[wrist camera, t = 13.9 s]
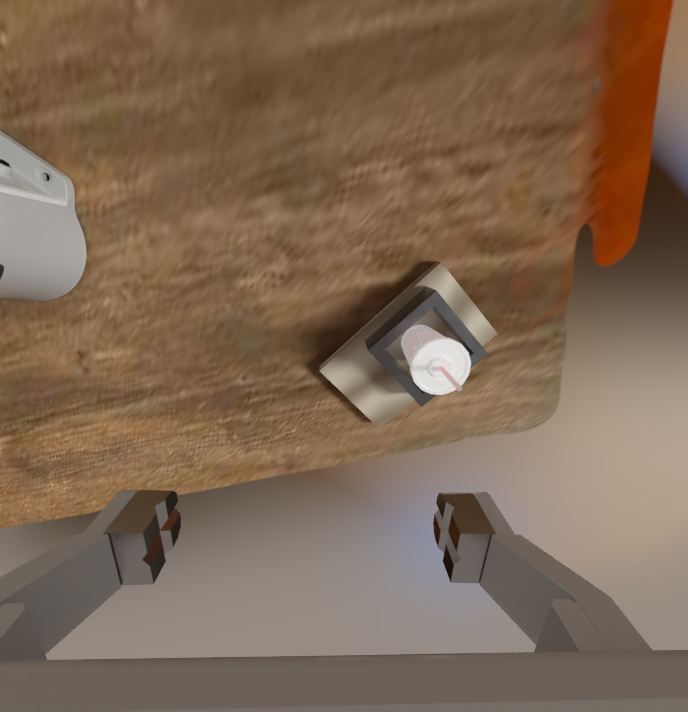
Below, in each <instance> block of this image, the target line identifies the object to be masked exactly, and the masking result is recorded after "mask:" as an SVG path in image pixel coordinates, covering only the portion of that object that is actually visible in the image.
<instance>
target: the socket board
mask: <svg viewBox="0 0 688 712" xmlns="http://www.w3.org/2000/svg"><path fill="white" fill-rule="evenodd" d="M426 286H427V287H430V288H432V289H434V290H436V291H437V292H438V293H439V294H440V295H441V297H442V298H443V299H444V300H445V301H446V303H447V304H448V305H449V306H450V308H451V309H452V310H453V311H454V312H455V314H456V315H457V316H458V317H459V319H460V320H461V321H462V322H463V323H464V325H465V326H466V327H467V328H468V330H469V331H470V332H471V333H472V335H473V336H474V337H475V338H476V339H477V341H478V342H479V343H480V344H481V346H483V345H484V344H486V343H487V342H488V341H489V340H491V339H492V338H493V337H494V336H496V335H497V332H496V331H495V330H494V329H493V327H492V326H491V325H490V324H489V322H488V321H487V320H486V318H485V317H484V316H483V315H482V313H481V312H480V311H479V310H478V308H477V307H476V306H475V305H474V303H473V302H472V301H471V299H470V298H469V297H468V296H467V294H466V293H465V292H464V291H463V289H462V288H461V287H460V285H459V284H458V283H457V282H456V280H455V279H454V278H453V277H452V275H451V274H450V273H449V271H448V270H447V269H446V268H445V266H444V265H443V264H442V263H441V262H437V261H436V262H435V263H434V264H433V265H432V266H430V267H429V268H428V269H427V270H426V271H425V272H424V273H423V274H422V275H420V276H419V277H418V278H417V279H416V280H415V281H414V282H413V283H411V284H410V285H409V286H408V287H407V288H406V289H405V290H404V291H403V292H401V293H400V294H399V295H398V296H397V297H396V298H395V299H394V300H392V301H391V302H390V303H389V304H388V305H387V306H386V307H385V308H384V309H382V310H381V311H380V312H379V313H378V314H377V315H376V316H375V317H374V318H372V319H371V320H370V321H369V322H368V323H367V324H366V325H365V326H363V327H362V328H361V329H360V330H359V331H358V332H357V333H356V334H355V335H353V336H352V337H351V338H350V339H349V340H348V341H347V342H346V343H345V344H343V345H342V346H341V347H340V348H339V349H338V350H337V351H336V352H334V353H333V354H332V355H331V356H330V357H329V358H328V359H327V360H326V361H324V362H323V363H322V364H321V365H320V370H319V371H320V372H321V373H322V374H323V375H324V376H325V377H326V378H327V379H328V380H329V381H330V382H331V383H332V384H333V385H334V386H335V387H337V388H338V389H339V390H340V391H341V392H342V393H343V394H344V395H345V396H346V397H347V398H348V399H349V400H350V401H351V402H352V403H353V404H354V405H355V406H356V407H357V408H358V409H359V410H360V411H361V412H362V413H363V414H364V415H366V416H367V417H368V418H369V419H370V420H371V421H372V422H373V423H374V424H375V425H376V426H377V427H378V428H379V429H380V428H381V427H382V426H383V425H385V424H386V423H387V422H388V421H390V420H391V419H392V418H393V417H395V416H396V415H397V414H398V413H400V412H401V411H402V410H403V409H405V408H406V407H407V406H408V405H410V404H411V403H412V402H413V401H415V399H414V398H413V397H412V396H411V395H410V394H409V393H408V392H407V391H406V390H405V389H404V388H403V387H402V386H401V385H400V384H399V383H398V382H397V381H396V380H395V378H394V377H393V376H392V375H391V374H390V373H389V372H388V371H387V370H386V369H385V368H384V367H383V366H382V365H381V364H380V363H379V362H378V361H377V360H376V359H375V357H374V356H373V355H372V354H371V353H370V352H369V351H368V349H367V346H366V343H365V340H366V339H367V338H368V337H370V336H371V335H372V334H373V333H374V332H375V331H376V330H377V329H379V328H380V327H381V326H382V325H383V324H384V323H385V322H387V321H388V320H389V319H390V318H391V317H392V316H393V315H394V314H396V313H397V312H398V311H399V310H400V309H401V308H402V307H403V306H405V305H406V304H407V303H408V302H409V301H410V300H411V299H413V298H414V297H415V296H416V295H417V294H418V293H419V292H420V291H422V290H423V289H424V288H425V287H426ZM416 325H425V326H428V327H430V328H432V329H433V330H435V331H436V332H438V333H440V334H441V335H443V336H445V337H448V338H451V339H453V340H455V341H457V342H459V340H458V339H457V338H456V337H455V336H454V334H453V333H452V332H451V331H450V330H449V329H448V327H447V326H446V325H445V324H444V323H443V321H442V320H441V319H440V318H439V317H438V315H437V314H436V313H435V312H434V311H433V309H431V310H430V311H428V312H427V313H426V314H425V315H424V316H423V317H421V318H420V319H419V320H418V321H417V322H416V323H414V324H413V325H412V326H411V327H413V326H416ZM411 327H410V328H411ZM406 331H407V330H406ZM406 331H405V332H406ZM405 332H404V333H405ZM404 333H403V334H402V335H401V336H399V337H398V338H397V339H396V340H395V341H394V342H392V343H391V344H390V345H389V346H388V347H387V348H386V350H387V351H388V353H389V354H390V355H391V356H392V357H393V358H394V359H395V360H396V361H397V362H398V363H399V364H400V365H401V367H402V368H403V369H404V370H405V371H406V372H407V373H408V374H409V375H410V376H411V377H412V375H411V372H410V366H409V364H408V361H407V359H406V357H405V355H404V352H403V349H402V346H401V341H402V337H403V335H404ZM459 343H460V342H459Z"/></svg>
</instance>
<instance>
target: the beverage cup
mask: <svg viewBox="0 0 688 712" xmlns="http://www.w3.org/2000/svg"><path fill="white" fill-rule="evenodd" d="M401 346H402V349H403V352H404V355H405V357H406V359H407V361H408V364H409V366H410V372H411V375H412V378H413V381H414V382H415V384H416V385H417V386H418V387H419V388H420V389H421V390H423V391H425V392H427V393H429V394H436V395H443V394H446V393H449V392H452V391H454V390H456V389H457V391H461V390H462V387H461V385H462V384H463V383H464V381H465V380H466V378H467V377H468V375H469V372H470V367H471V360H470V356H469V352H468V351H467V350H466V349H465V348H464V346H463V345H462V344H461V343H459V342H457V341H455V340H453V339H451V338H448V337H445V336H443V335H441V334H440V333H438V332H436V331H435V330H433V329H432V328H430V327H428V326H425V325H416V326H413V327H411V328H409V329H408V330H407V331H406V332H405V333H404V335H403V337H402V341H401Z"/></svg>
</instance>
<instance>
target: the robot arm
mask: <svg viewBox="0 0 688 712" xmlns="http://www.w3.org/2000/svg"><path fill="white" fill-rule="evenodd" d="M47 175H49V177H50V180H49V181H48V180H47ZM85 264H86V243H85V238H84V235H83V231H82V229H81V226H80V224H79V221H78V218H77V216H76V212H75V195H74V187H73V184H72V181H71V180H70V178H69V177H68V176H66V175H65V174H64V173H62V172H61V171H59V170H58V169H56V168H55V167H53V166H52V165H50V164H49V163H47V162H46V161H44V160H43V159H42V158H40V157H39V156H37V155H36V154H34V153H33V152H31V151H30V150H28V149H27V148H25V147H24V146H22V145H21V144H19V143H18V142H16V141H15V140H13V139H12V138H10V137H9V136H7V135H6V134H4V133H3V132H1V131H0V299H22V300H32V301H46V300H52V299H56V298H58V297H61V296H63V295H65V294H66V293H68V292H69V291H70V290H72V289H73V288H74V287H75V286H76V284H77V283H78V282H79V280H80V278H81V276H82V274H83V272H84V268H85ZM177 503H178V497H177V493H176V492H174V491H160V490H122V491H120V492H119V493H117V495H116V496H115V497H114V498H113V499H112V500H111V501H110V503H109V504H108V505H107V506H106V507H105V508H104V510H103V511H102V512H101V513H100V514H99V515H98V516H97V518H96V519H95V520H94V521H93V522H92V523H91V524H90V526H89V527H88V528H87V529H86V530H85V531H84V532H83V534H76V535H74V536H72V537H70V538H69V539H67V540H66V541H63V542H62V543H60V544H58V545H56V546H55V547H53V548H51V549H49V550H48V551H46V552H44V553H42V554H41V555H39V556H37V557H35V558H33V559H32V560H30V561H28V562H26V563H25V564H23V565H21V566H20V567H18V568H16V569H14V570H12V571H11V572H9V573H7V574H5V575H3V576H2V577H0V712H688V650H652V649H651V648H650V647H649V645H648V644H647V643H646V642H645V640H644V639H643V638H642V636H641V635H640V634H639V633H638V631H637V630H636V629H635V628H634V626H633V625H632V624H631V623H630V621H629V620H628V619H627V617H626V616H625V615H624V614H623V612H622V611H621V610H620V609H619V607H618V606H617V605H616V604H615V602H614V601H613V600H612V599H611V597H609V596H608V595H607V594H605V593H604V592H602V591H601V590H599V589H598V588H596V587H595V586H594V585H592V584H591V583H589V582H588V581H586V580H585V579H583V578H582V577H581V576H579V575H577V574H576V573H575V572H573V571H572V570H570V569H569V568H568V567H566V566H564V565H563V564H562V563H560V562H559V561H557V560H556V559H554V558H553V557H552V556H550V555H549V554H547V553H546V552H544V551H543V550H541V549H540V548H539V547H537V546H535V545H534V544H532V543H531V542H530V541H528V540H527V539H525V538H524V537H523V536H521V535H515V534H514V532H513V531H512V529H511V527H510V526H509V524H508V523H507V521H506V520H505V518H504V517H503V515H502V513H501V512H500V510H499V509H498V507H497V506H496V504H495V503H494V501H493V500H492V498H491V496H490V495H489V494H488V493H486V492H473V493H439V495H438V497H437V505H438V508H439V510H438V511H437V512H436V513H435V514H434V522H433V525H434V535H435V539H436V543H437V545H438V548H440V549H441V550H442V551H443V552H444V557H443V563H444V565H445V568H446V571H447V574H448V576H449V579H450V582H453V583H455V582H456V583H480V586H481V587H482V588H483V589H484V590H485V591H486V592H487V593H488V594H489V595H490V596H491V597H492V598H493V600H494V601H495V602H496V603H497V604H498V605H499V606H500V607H501V608H502V609H503V610H504V611H505V612H506V613H507V614H508V615H509V617H510V618H511V619H512V620H513V621H514V622H515V623H516V624H517V625H518V626H519V627H520V628H521V629H522V631H524V633H525V634H526V635H528V637H529V638H530V639H531V640H532V641H533V642H534V643H535V644H536V648H535V651H534V652H524V653H459V654H402V655H349V656H348V655H347V656H345V655H344V656H283V657H282V656H279V657H212V658H211V657H210V658H150V659H149V658H148V659H147V658H146V659H86V660H85V659H84V660H47V659H46V656H45V654H46V653H47V652H49V651H50V650H51V649H52V648H53V647H54V646H55V645H56V644H58V643H59V642H60V641H61V640H62V639H63V638H64V637H66V636H67V635H68V634H69V633H70V632H71V631H72V630H73V629H75V628H76V627H77V626H78V625H79V624H80V623H81V622H83V620H85V619H86V618H87V617H88V616H89V615H90V614H92V613H93V612H94V611H95V610H96V609H97V608H98V607H99V606H101V605H102V604H103V603H104V602H105V601H106V600H107V599H108V598H110V597H111V596H112V595H113V594H114V593H115V592H116V591H117V590H119V589H120V588H121V585H139V584H140V585H142V584H154V582H155V581H156V579H157V577H158V575H159V573H160V571H161V569H162V567H163V566H164V564H165V562H166V561H165V556H164V554H165V553H166V552H168V551H169V550H170V549H172V548H173V547H174V545H175V543H176V541H177V539H178V535H179V532H180V528H181V516H180V512H179V511H177V510H176V509H175V506H176V504H177Z"/></svg>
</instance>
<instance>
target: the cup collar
mask: <svg viewBox="0 0 688 712" xmlns="http://www.w3.org/2000/svg"><path fill="white" fill-rule="evenodd" d="M431 309H433V311H434V312H435V313H436V314H437V315H438V317H439V318H440V319H441V320H442V321H443V323H444V324H445V325H446V326H447V327H448V329H449V330H450V331H451V332H452V333H453V334H454V336H455V337H456V338H457V339H458V340H459V342H460V343H461V344H462V345H463V346H464V348H465V349H466V350H467V351H468V352H469V356H470V360H471V367H472V366H474V365H475V364H476V363H477V362H479V361H480V360H481V359H482V358H484V357H485V356H486V355H487V354H488V353H487V352H486V350H485V349H484V348H483V347H482V346H481V344H480V343H479V342H478V341H477V339H476V338H475V337H474V336H473V335H472V333H471V332H470V331H469V330H468V328H467V327H466V326H465V325H464V323H463V322H462V321H461V320H460V319H459V317H458V316H457V315H456V314H455V312H454V311H453V310H452V309H451V308H450V306H449V305H448V304H447V303H446V301H445V300H444V299H443V298H442V297H441V295H440V294H439V293H438V292H437V291H436V290H434V289H432V288H430V287H427V286H426V287H425V288H424V289H423V290H422V291H420V292H419V293H418V294H417V295H416V296H415V297H414V298H413V299H411V300H410V301H409V302H408V303H407V304H406V305H405V306H403V307H402V308H401V309H400V310H399V311H398V312H397V313H396V314H394V315H393V316H392V317H391V318H390V319H389V320H388V321H387V322H385V323H384V324H383V325H382V326H381V327H380V328H379V329H377V330H376V331H375V332H374V333H373V334H372V335H371V336H370V337H368V338H367V339H366V340H365V343H366V346H367V349H368V351H369V352H370V353H371V354H372V355H373V356H374V357H375V359H376V360H377V361H378V362H379V363H380V364H381V365H382V366H383V367H384V368H385V369H386V370H387V371H388V372H389V373H390V374H391V375H392V376H393V377H394V378H395V380H396V381H397V382H398V383H399V384H400V385H401V386H402V387H403V388H404V389H405V390H406V391H407V392H408V393H409V394H410V395H411V396H412V397H413V398H414V399H415V400H416V402H417V403H418V404H419V405H420V406H421V407H422V406H423V405H424V404H426V403H427V402H428V401H429V400H431V399H432V398H433V397H434V396H436V394H429V393H427V392H425V391H423V390H421V389H420V388H419V387H418V386H417V385H416V384H415V382H414V381H413V378H412V377H411V376H410V375H409V374H408V373H407V372H406V371H405V370H404V369H403V368H402V367H401V365H400V364H399V363H398V362H397V361H396V360H395V359H394V358H393V357H392V356H391V355H390V354H389V353H388V351H387V350H386V348H387V347H388V346H389V345H390V344H391V343H392V342H394V341H395V340H396V339H397V338H398V337H399V336H401V335H402V334H403V333H404V332H405V331H406V330H408V329H409V328H410V327H411V326H412V325H413V324H414V323H416V322H417V321H418V320H419V319H420V318H421V317H423V316H424V315H425V314H426V313H427V312H428V311H430V310H431ZM471 367H470V368H471Z"/></svg>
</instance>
